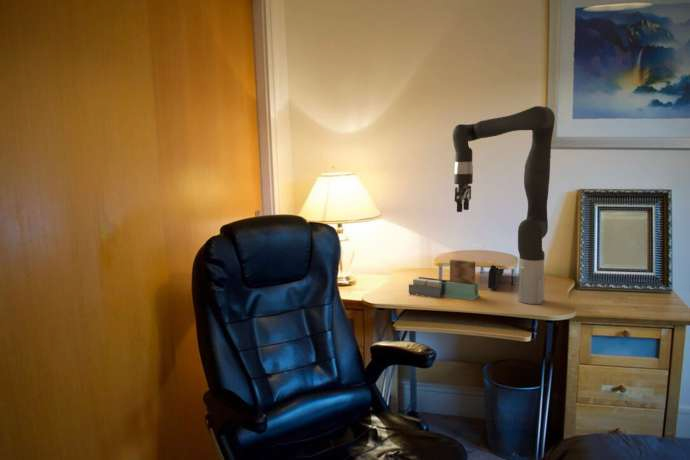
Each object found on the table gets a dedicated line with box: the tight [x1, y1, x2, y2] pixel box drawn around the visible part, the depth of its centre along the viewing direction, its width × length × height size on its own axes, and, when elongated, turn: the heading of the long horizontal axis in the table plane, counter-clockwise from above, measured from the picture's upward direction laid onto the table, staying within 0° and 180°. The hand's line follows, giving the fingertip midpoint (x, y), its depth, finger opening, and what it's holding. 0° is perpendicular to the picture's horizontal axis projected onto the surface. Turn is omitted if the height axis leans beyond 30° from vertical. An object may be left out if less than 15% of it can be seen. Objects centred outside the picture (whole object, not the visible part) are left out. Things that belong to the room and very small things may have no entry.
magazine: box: [487, 264, 505, 290], centre depth 233 cm, size 18×3×31 cm
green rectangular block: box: [444, 281, 480, 302], centre depth 213 cm, size 12×8×6 cm, turn 58°
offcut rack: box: [408, 276, 450, 299], centre depth 219 cm, size 14×11×5 cm
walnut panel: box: [449, 259, 476, 285], centre depth 212 cm, size 10×2×14 cm, turn 57°
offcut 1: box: [412, 277, 428, 286], centre depth 219 cm, size 6×3×5 cm, turn 58°
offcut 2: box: [426, 280, 442, 288], centre depth 216 cm, size 6×3×5 cm, turn 58°
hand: (462, 210), depth 220 cm, fingers open, 8 cm apart
